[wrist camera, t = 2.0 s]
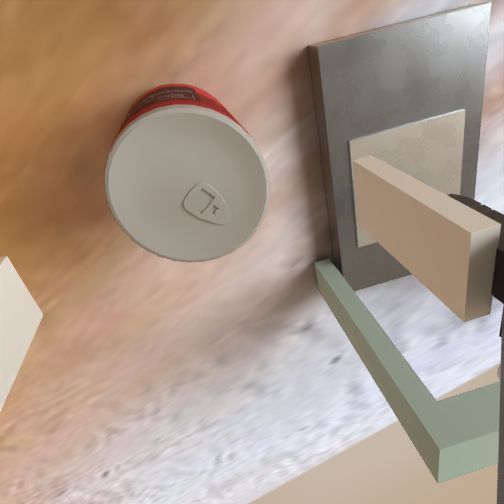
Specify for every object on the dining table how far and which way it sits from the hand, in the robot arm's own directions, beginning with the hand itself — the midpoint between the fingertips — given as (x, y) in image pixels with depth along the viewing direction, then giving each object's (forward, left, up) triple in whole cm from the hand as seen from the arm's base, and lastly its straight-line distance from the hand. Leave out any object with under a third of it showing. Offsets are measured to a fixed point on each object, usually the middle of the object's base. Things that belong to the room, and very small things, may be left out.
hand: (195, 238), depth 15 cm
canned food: (0, 0, -16) cm, 16 cm away
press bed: (+6, +16, -15) cm, 23 cm away
